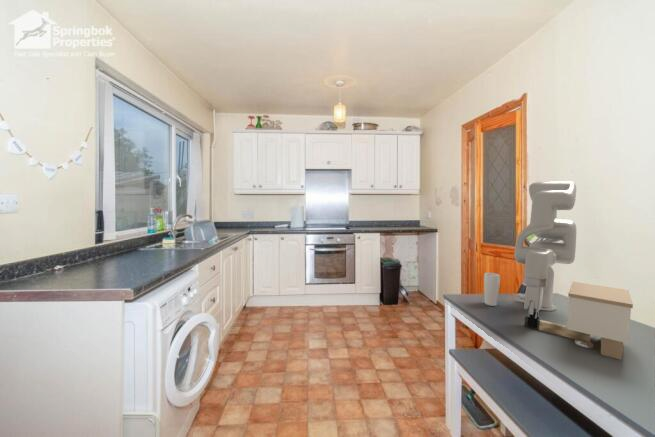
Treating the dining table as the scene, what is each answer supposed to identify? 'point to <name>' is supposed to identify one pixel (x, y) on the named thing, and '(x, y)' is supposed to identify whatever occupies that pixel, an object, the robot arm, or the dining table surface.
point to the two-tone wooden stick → (558, 329)
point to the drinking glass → (491, 288)
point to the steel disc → (583, 343)
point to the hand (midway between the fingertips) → (532, 326)
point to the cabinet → (601, 315)
